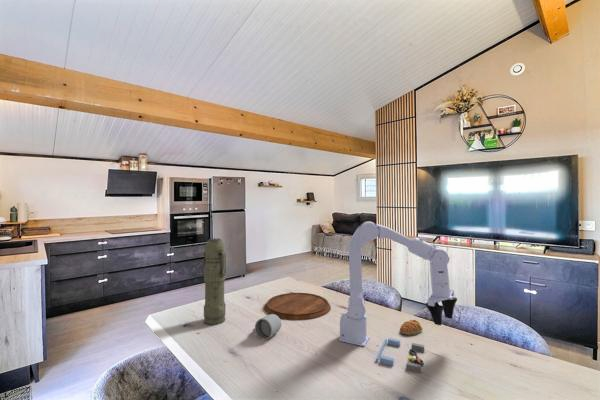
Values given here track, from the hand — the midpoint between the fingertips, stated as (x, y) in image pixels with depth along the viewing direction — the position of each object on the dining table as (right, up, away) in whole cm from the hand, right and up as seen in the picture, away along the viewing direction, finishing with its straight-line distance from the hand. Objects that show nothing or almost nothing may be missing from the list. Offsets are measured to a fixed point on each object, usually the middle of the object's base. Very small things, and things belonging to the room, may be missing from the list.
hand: (443, 321), depth 103 cm
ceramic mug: (-64, -10, +10) cm, 65 cm away
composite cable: (-13, -10, -7) cm, 18 cm away
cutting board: (-52, -10, +39) cm, 66 cm away
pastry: (-6, -10, +13) cm, 18 cm away
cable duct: (-16, -9, -6) cm, 19 cm away
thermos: (-87, -10, +23) cm, 90 cm away
